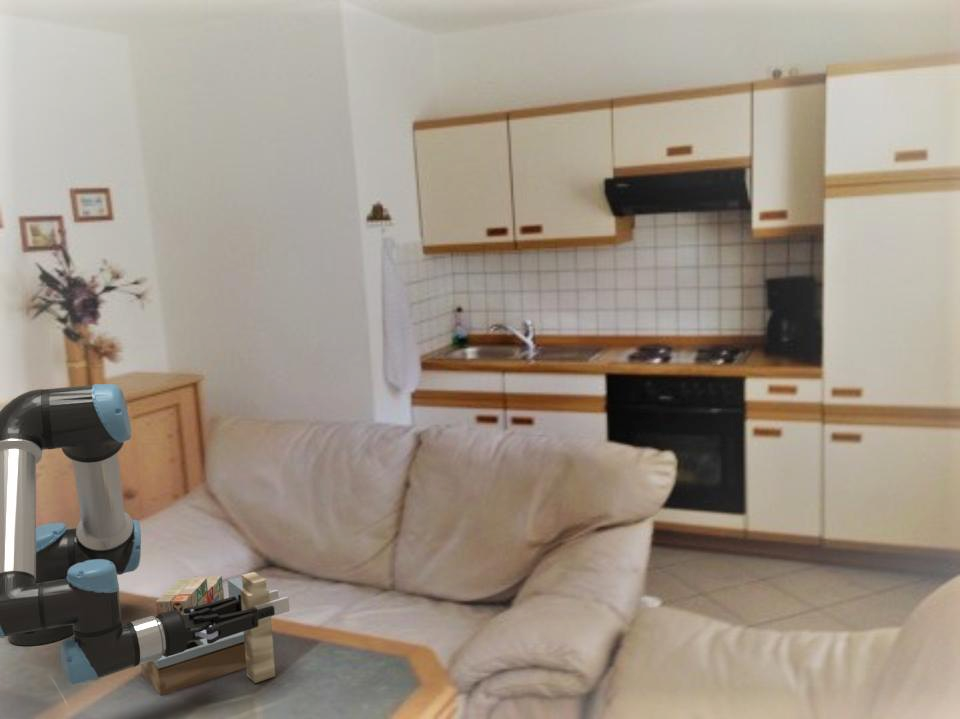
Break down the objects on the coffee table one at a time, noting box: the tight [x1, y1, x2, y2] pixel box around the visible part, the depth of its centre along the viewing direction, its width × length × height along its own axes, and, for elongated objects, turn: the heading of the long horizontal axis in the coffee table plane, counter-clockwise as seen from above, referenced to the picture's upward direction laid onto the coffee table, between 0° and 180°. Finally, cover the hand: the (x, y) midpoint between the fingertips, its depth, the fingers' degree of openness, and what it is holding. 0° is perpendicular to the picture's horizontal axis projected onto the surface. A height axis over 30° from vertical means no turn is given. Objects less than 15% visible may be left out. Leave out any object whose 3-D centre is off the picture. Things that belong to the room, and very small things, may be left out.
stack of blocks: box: [155, 575, 225, 616], centre depth 183 cm, size 21×6×12 cm, turn 178°
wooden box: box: [140, 642, 246, 697], centre depth 166 cm, size 12×20×6 cm, turn 128°
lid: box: [152, 577, 244, 669], centre depth 165 cm, size 12×20×9 cm, turn 128°
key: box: [240, 571, 276, 684], centre depth 160 cm, size 6×4×20 cm
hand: (282, 600), depth 163 cm, fingers closed on key, 4 cm apart
